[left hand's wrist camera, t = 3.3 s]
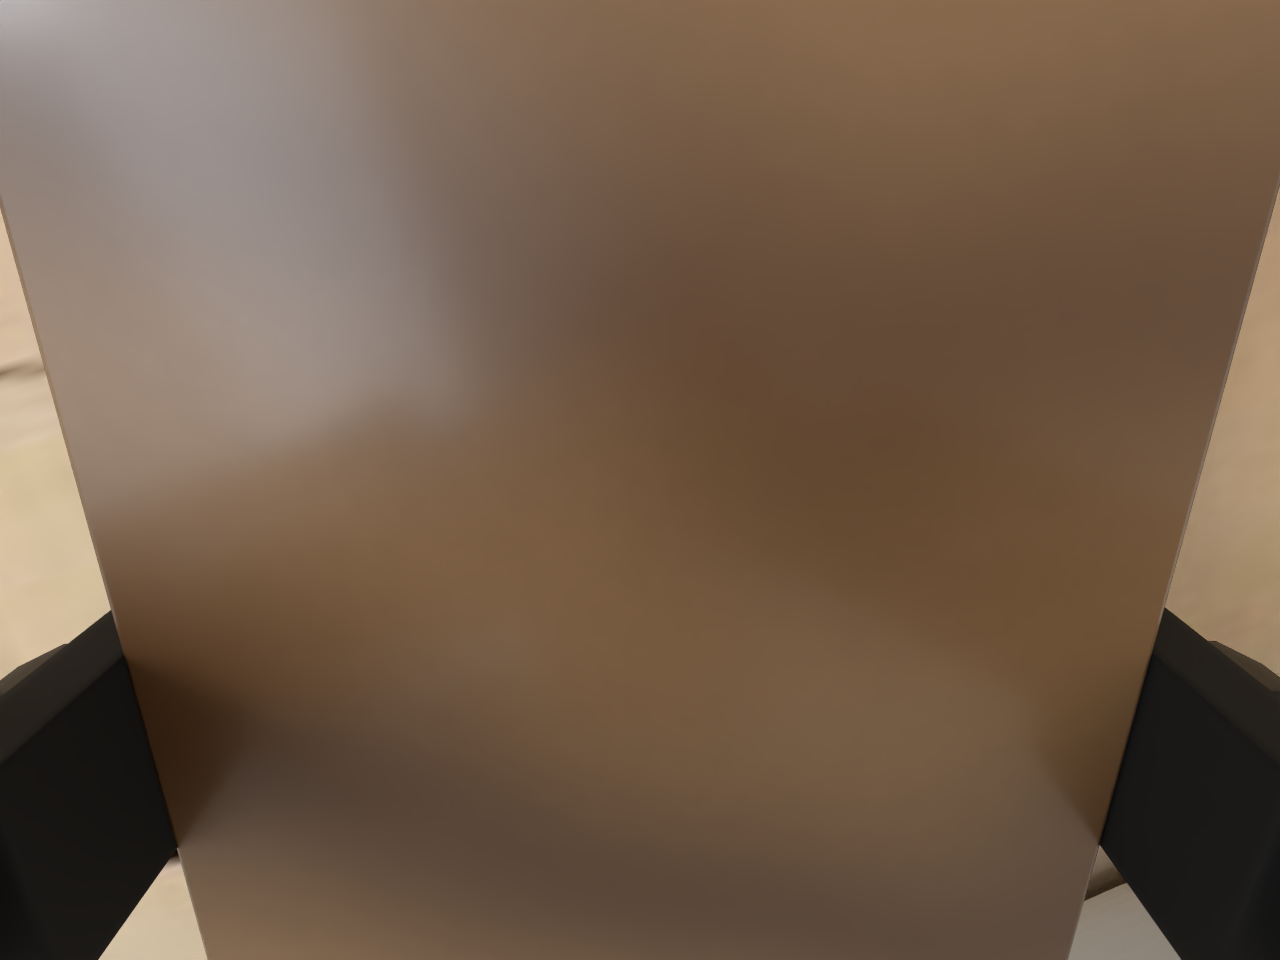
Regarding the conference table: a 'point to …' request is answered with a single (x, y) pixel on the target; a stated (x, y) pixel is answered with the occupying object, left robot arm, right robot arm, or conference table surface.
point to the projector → (1118, 930)
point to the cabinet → (638, 446)
